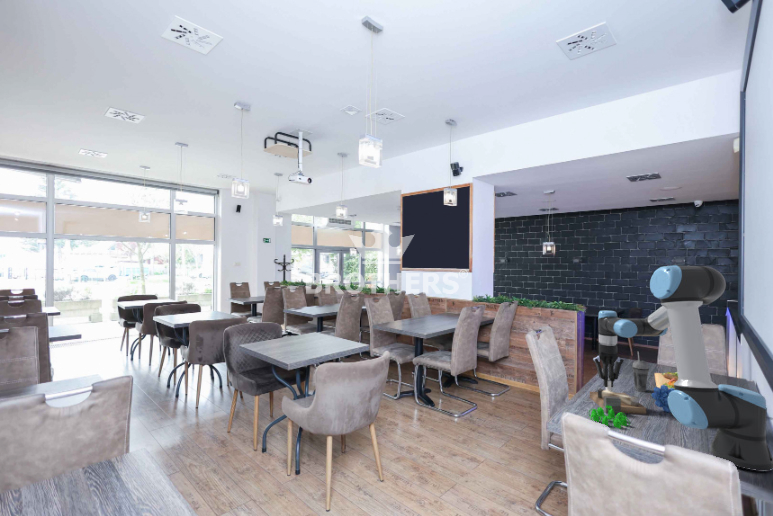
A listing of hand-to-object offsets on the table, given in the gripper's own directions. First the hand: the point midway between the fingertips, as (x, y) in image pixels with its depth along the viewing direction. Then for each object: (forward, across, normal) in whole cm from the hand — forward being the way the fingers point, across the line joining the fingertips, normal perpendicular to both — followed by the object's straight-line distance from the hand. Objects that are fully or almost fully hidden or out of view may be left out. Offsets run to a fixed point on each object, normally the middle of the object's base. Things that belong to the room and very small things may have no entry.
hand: (608, 393), depth 174 cm
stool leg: (+1, -7, +9) cm, 11 cm away
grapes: (+5, -21, +9) cm, 23 cm away
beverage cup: (+5, -24, -20) cm, 32 cm away
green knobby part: (+5, +10, +22) cm, 24 cm away
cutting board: (+6, -50, -29) cm, 58 cm away
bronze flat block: (+4, -2, +3) cm, 6 cm away
